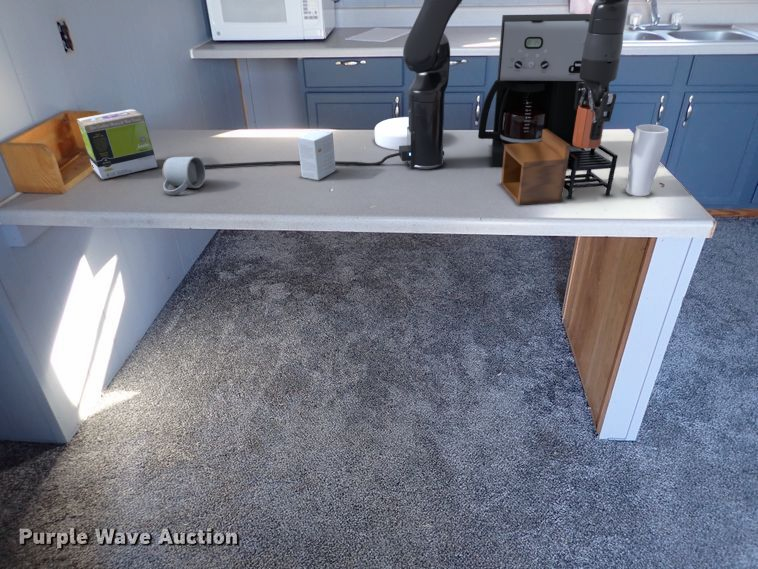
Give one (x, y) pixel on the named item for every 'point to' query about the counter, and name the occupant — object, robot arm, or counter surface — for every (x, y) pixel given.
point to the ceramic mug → (183, 173)
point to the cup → (584, 129)
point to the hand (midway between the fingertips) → (587, 135)
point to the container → (392, 133)
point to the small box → (316, 154)
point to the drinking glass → (645, 158)
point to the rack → (589, 169)
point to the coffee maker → (535, 80)
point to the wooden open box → (536, 169)
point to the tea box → (117, 143)
